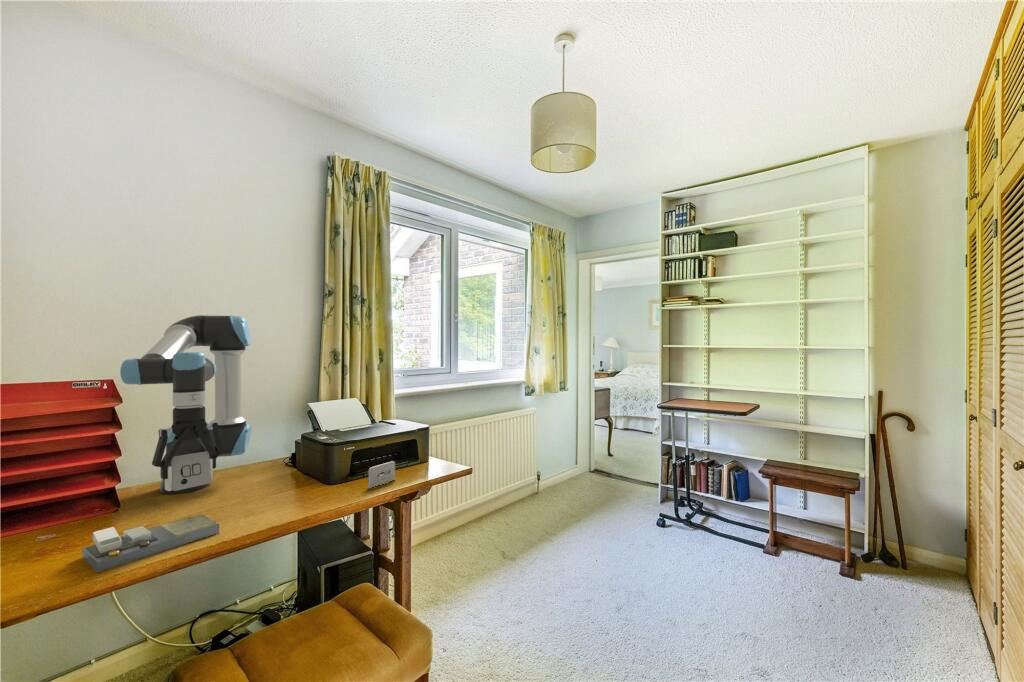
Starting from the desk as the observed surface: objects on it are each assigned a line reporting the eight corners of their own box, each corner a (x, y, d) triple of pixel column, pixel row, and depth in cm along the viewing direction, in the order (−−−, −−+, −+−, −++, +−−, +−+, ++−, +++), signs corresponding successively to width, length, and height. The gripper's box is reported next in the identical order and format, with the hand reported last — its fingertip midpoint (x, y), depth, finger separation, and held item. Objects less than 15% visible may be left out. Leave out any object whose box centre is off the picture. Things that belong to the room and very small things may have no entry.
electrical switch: (172, 492, 120) (171, 457, 121) (167, 490, 123) (166, 456, 124) (212, 483, 127) (211, 451, 128) (206, 481, 130) (205, 450, 131)
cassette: (392, 479, 174) (392, 460, 174) (396, 480, 173) (396, 461, 173) (367, 488, 164) (367, 467, 164) (370, 489, 163) (370, 468, 163)
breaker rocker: (92, 538, 112) (93, 531, 111) (113, 532, 115) (113, 526, 115) (100, 553, 108) (101, 546, 108) (121, 546, 111) (122, 540, 111)
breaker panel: (82, 557, 112) (82, 540, 112) (200, 522, 133) (200, 507, 133) (97, 572, 104) (97, 554, 104) (219, 533, 126) (219, 517, 126)
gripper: (145, 412, 114) (145, 499, 114) (237, 402, 132) (237, 477, 132) (135, 410, 118) (136, 493, 118) (225, 400, 136) (225, 473, 136)
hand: (189, 485), depth 125 cm, fingers closed on electrical switch, 9 cm apart
